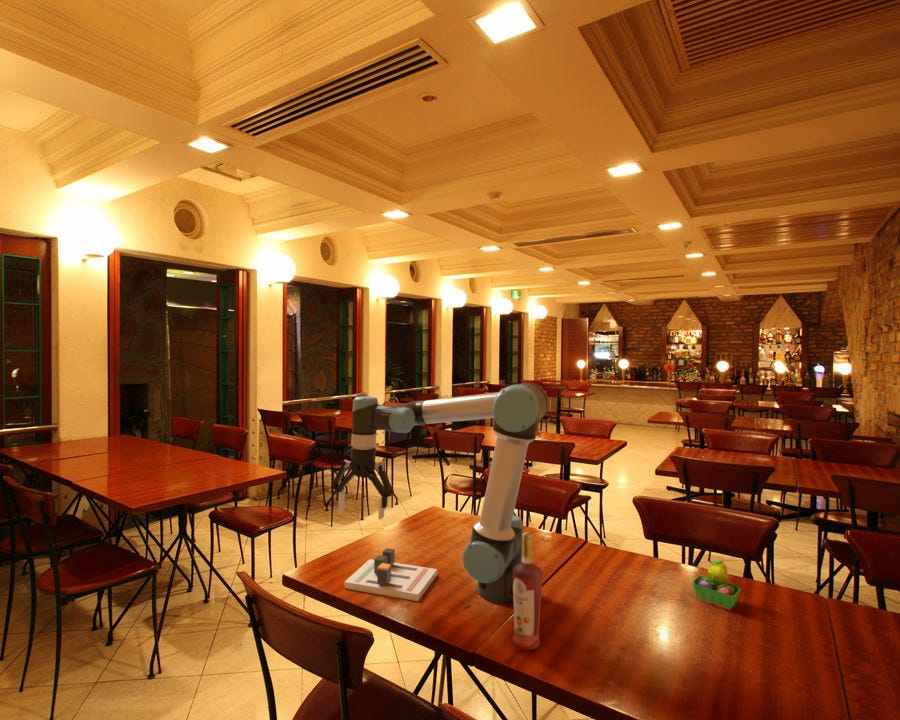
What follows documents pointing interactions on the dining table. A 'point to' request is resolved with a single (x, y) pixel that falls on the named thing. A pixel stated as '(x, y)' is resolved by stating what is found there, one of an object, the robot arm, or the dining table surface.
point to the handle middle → (379, 562)
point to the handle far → (389, 555)
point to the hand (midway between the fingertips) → (361, 514)
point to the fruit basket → (716, 586)
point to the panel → (393, 581)
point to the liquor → (527, 598)
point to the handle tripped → (384, 574)
